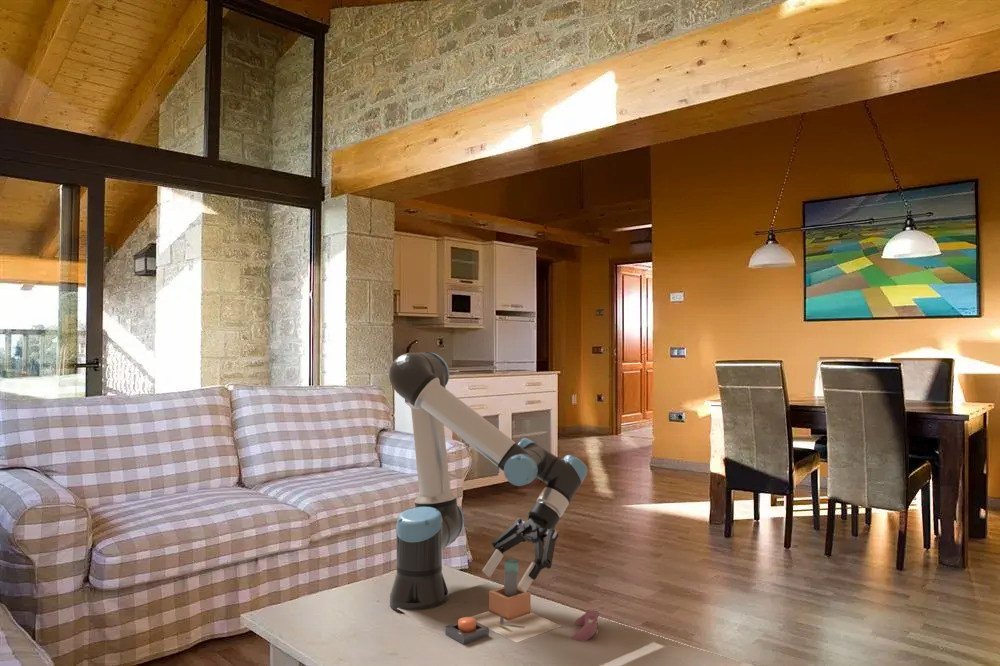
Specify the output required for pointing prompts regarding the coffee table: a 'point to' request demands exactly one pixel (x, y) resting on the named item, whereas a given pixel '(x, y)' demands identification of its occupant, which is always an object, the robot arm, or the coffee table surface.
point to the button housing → (467, 637)
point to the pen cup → (509, 604)
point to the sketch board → (516, 625)
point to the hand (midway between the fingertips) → (502, 581)
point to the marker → (511, 577)
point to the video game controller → (587, 625)
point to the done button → (466, 624)
